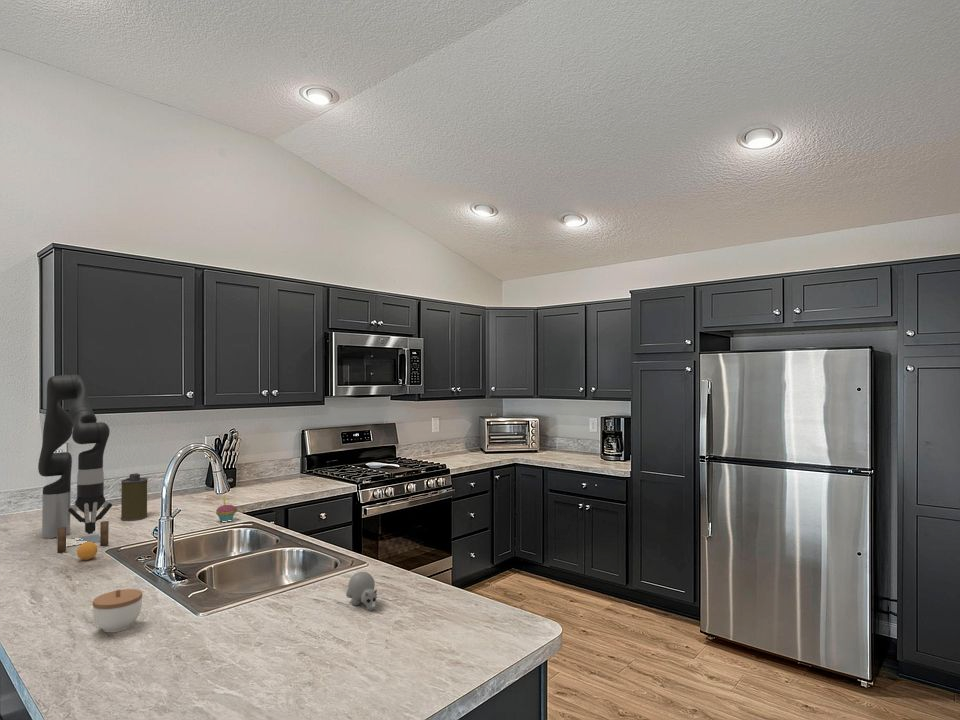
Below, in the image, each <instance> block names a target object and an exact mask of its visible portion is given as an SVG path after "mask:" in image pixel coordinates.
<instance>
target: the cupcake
mask: <svg viewBox="0 0 960 720" xmlns="http://www.w3.org/2000/svg"><path fill="white" fill-rule="evenodd" d="M222 498H223V504H222V505H221V506H219V507H217V508H216V511H215V514H216V515H217V517H218V519H219V521H228V520H232V521H233V519H234V516H235V513H237V512H238V508H237V507H236V506H234V505H232V504H226V496H225V494H224V495H222Z"/></svg>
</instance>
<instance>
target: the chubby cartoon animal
mask: <svg viewBox="0 0 960 720" xmlns="http://www.w3.org/2000/svg"><path fill="white" fill-rule="evenodd" d="M375 586H376V583H375V579H374V577H373V576H372V574H370V573H369V572H367V571H359V572H356V573H354V574H353V575H352V576H351V577H350V578H349V581H348V586H347V589H346V593H345V596H346V597H347V598H350V599H351V600H350V604H351V605H352V606H354V607H357V606H359V605H360V604H361V602H362V604H364V605H365V607H366V608H367V610H368V611H371V612H372V611H375V610H376V608H377V607H378V604H377V603H378V602H377V597H378V595H377V594H378V593H377V592H378V589H375Z"/></svg>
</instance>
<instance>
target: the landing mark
mask: <svg viewBox="0 0 960 720" xmlns="http://www.w3.org/2000/svg"><path fill="white" fill-rule="evenodd" d="M75 538H81V539H83V540H81V539H79V540H76V541H87V542H93V543H95V542H98V543H100V533H99V534H89V535H86V536H78V537H77V536H76V537H71V539H75ZM95 544H96V543H95Z"/></svg>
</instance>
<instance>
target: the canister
mask: <svg viewBox="0 0 960 720" xmlns="http://www.w3.org/2000/svg"><path fill="white" fill-rule="evenodd" d="M120 482H121V494H120V495H121V496H120V497H121V503H120V504H121V507H120V508H121V515H120V516H121V517H120V520H121V521H122V522H131V521H132V522H134V521H141V520H145V519H147V518H148V477H147V478H146V477H141V473H136V472H134V473H130V474H129V477H127V478H125V479H122V480H121V481H120Z"/></svg>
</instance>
